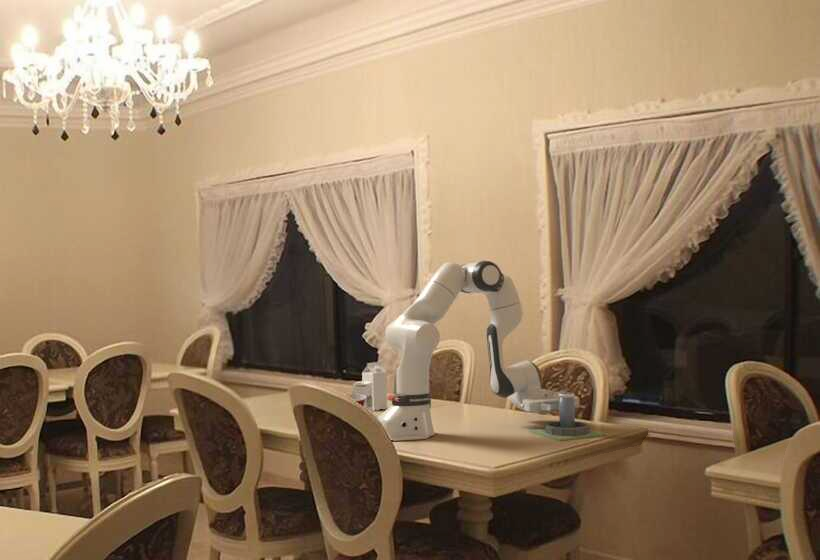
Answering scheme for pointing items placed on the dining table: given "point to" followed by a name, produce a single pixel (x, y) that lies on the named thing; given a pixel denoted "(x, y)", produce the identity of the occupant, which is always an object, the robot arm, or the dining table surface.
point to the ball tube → (566, 410)
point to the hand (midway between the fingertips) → (563, 406)
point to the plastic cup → (358, 398)
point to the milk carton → (376, 384)
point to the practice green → (567, 431)
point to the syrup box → (364, 392)
